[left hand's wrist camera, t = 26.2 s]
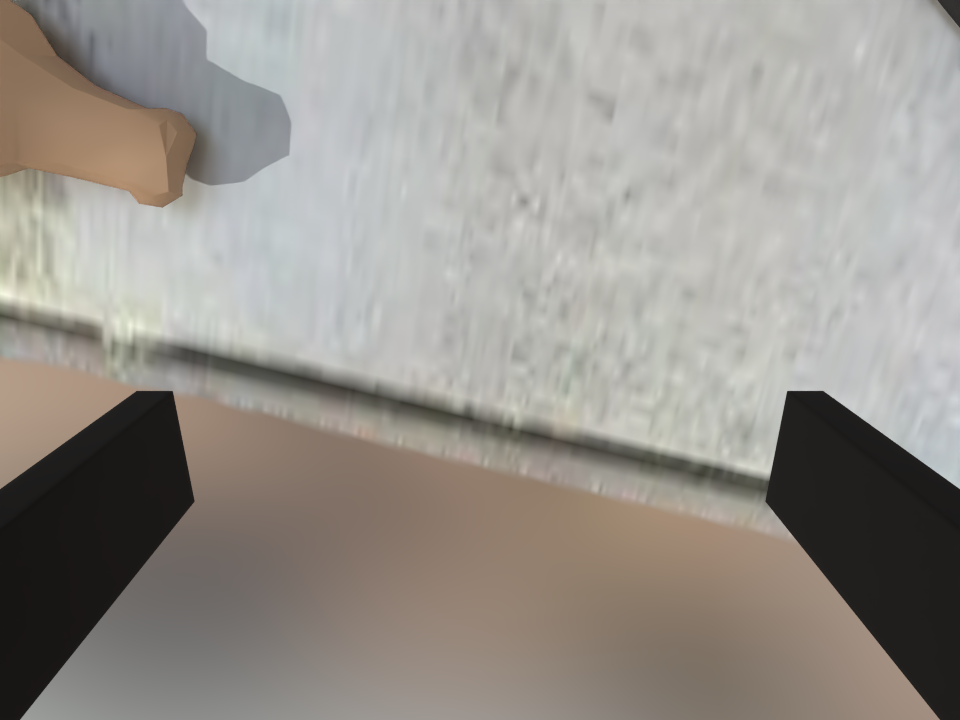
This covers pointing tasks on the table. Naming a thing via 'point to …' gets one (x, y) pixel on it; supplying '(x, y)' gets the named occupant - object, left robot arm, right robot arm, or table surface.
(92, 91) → the squash
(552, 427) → the table surface
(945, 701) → the left robot arm
